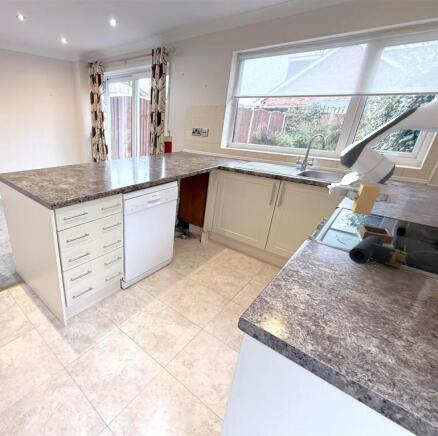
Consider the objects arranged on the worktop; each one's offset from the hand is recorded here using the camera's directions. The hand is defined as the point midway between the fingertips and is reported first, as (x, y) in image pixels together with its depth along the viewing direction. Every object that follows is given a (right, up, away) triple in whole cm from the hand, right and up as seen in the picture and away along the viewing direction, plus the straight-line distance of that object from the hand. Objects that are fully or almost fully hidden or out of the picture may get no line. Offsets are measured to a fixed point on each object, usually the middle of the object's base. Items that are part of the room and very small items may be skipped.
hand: (366, 198), depth 85 cm
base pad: (+9, -15, +8) cm, 19 cm away
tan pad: (0, -5, +3) cm, 6 cm away
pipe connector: (-2, -21, -5) cm, 21 cm away
